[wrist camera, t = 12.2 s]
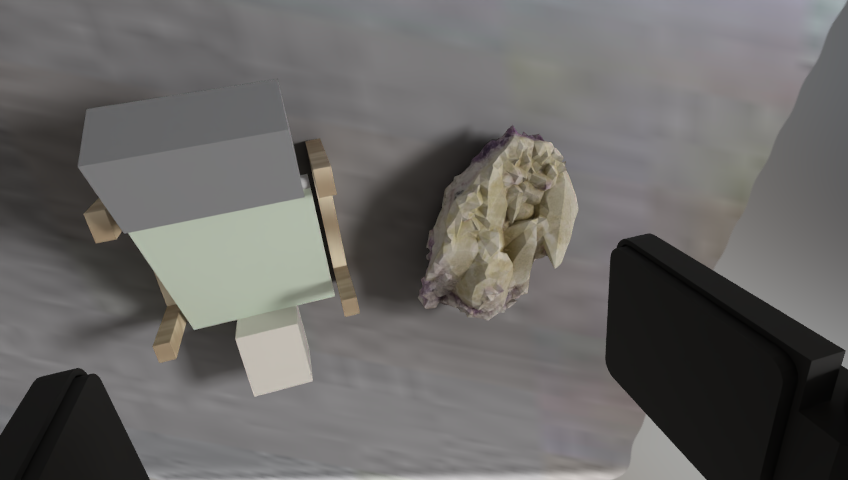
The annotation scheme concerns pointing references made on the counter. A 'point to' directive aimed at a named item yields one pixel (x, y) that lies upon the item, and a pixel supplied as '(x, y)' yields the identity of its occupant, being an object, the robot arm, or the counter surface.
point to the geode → (499, 226)
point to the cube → (274, 350)
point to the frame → (175, 320)
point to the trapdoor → (211, 199)
